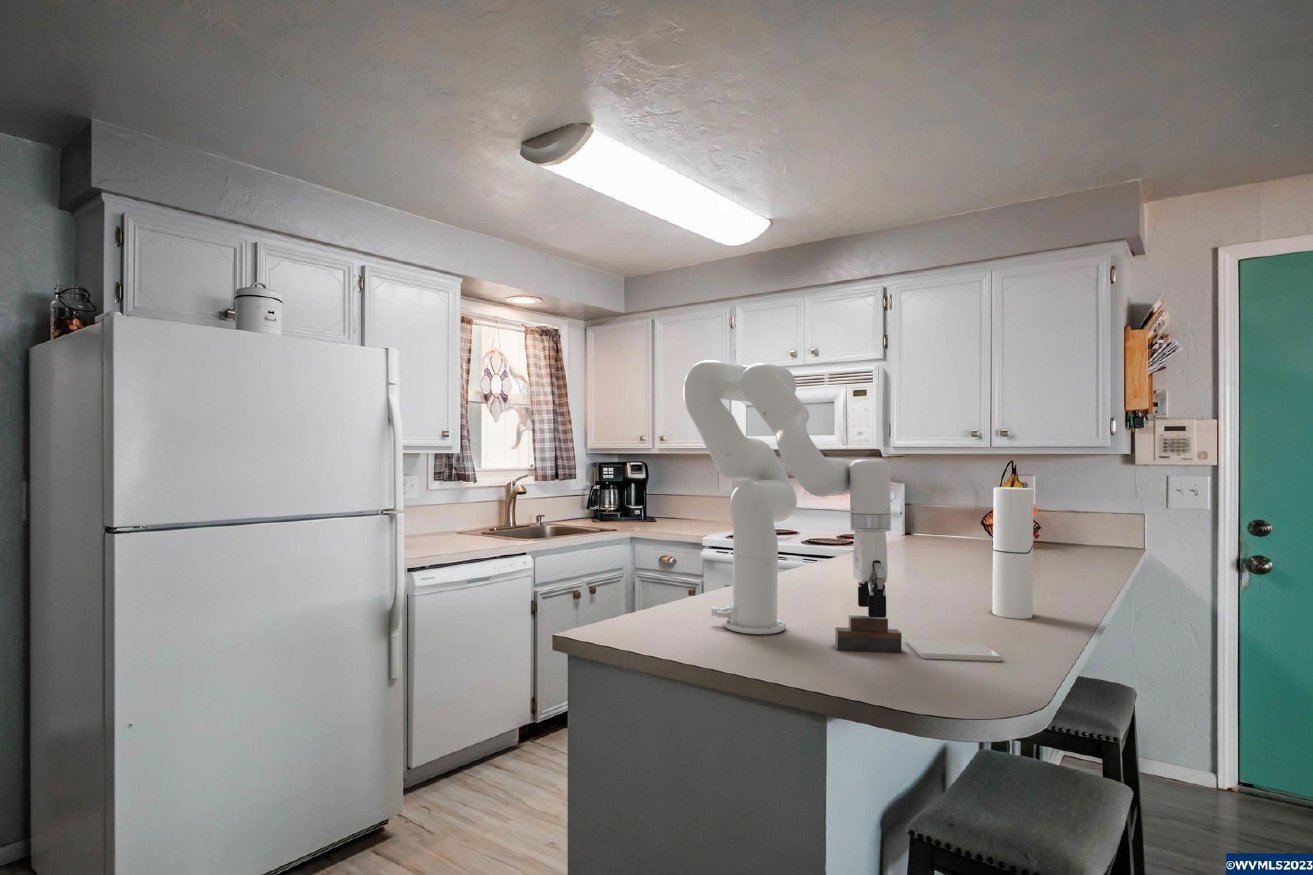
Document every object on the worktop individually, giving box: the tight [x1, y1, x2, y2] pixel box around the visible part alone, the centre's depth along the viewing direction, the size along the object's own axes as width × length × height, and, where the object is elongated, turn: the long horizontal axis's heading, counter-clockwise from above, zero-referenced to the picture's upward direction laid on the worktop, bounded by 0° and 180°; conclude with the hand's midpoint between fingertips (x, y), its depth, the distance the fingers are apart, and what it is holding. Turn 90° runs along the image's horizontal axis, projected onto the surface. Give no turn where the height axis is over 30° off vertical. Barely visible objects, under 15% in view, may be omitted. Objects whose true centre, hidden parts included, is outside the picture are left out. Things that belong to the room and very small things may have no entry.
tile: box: [908, 638, 1002, 662], centre depth 142 cm, size 14×10×1 cm
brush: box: [834, 614, 903, 654], centre depth 143 cm, size 12×3×6 cm, turn 86°
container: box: [991, 486, 1035, 620], centre depth 176 cm, size 9×9×30 cm
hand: (871, 611), depth 143 cm, fingers open, 9 cm apart
